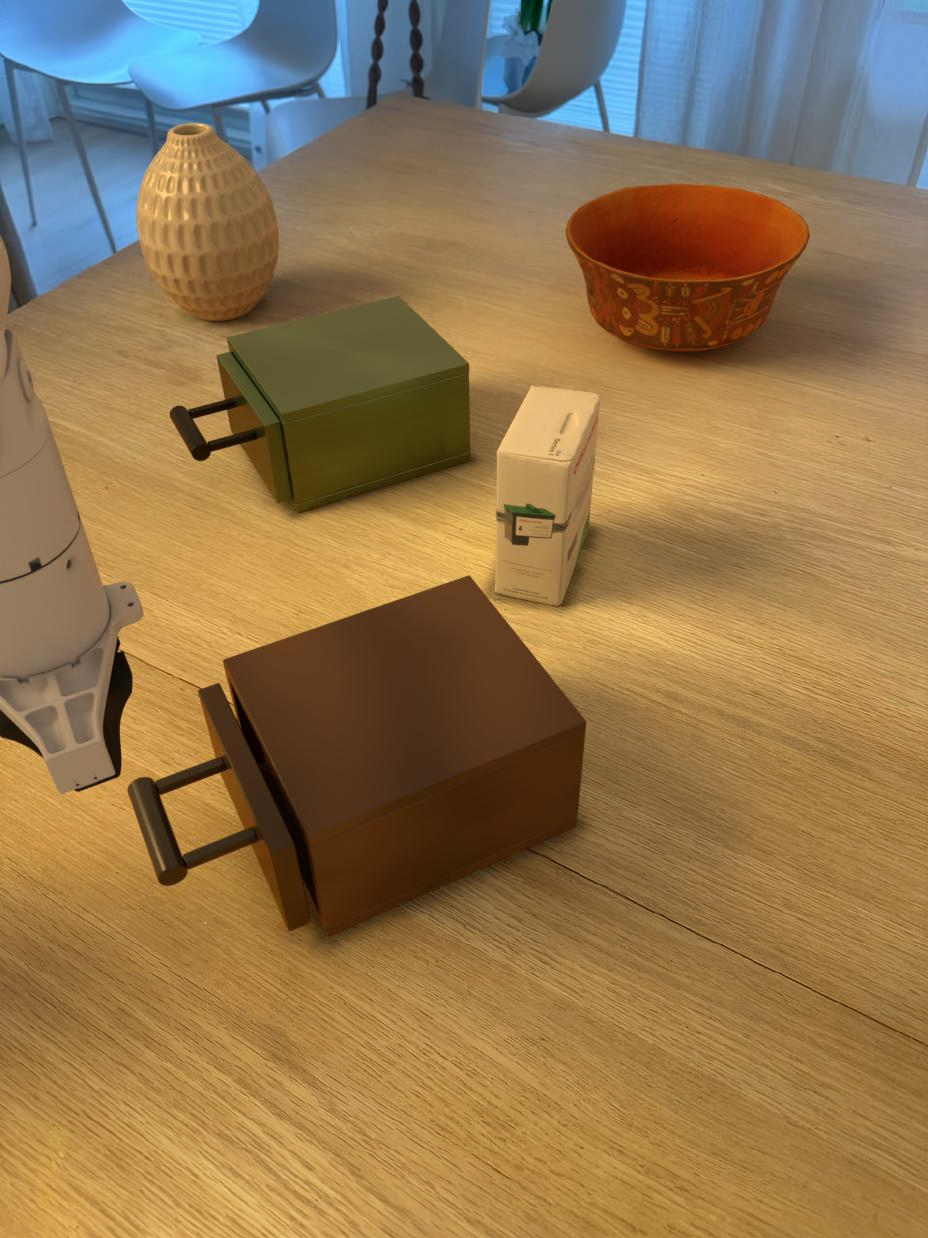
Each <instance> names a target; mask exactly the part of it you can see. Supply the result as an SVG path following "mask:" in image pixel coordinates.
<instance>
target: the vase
mask: <svg viewBox="0 0 928 1238" xmlns="http://www.w3.org/2000/svg"><path fill="white" fill-rule="evenodd" d="M140 183H141V184H140V187H139V189H138V196H137V200H136V201H137V202H136V211H135V219H136V231H137V237H138V242H139V246H140V249H141V253H142V255H143V259H144V261H145V264H146V266H147V268H148V270H149V272H150V273H151V275H152V277H153V279H154V280H155V282H156V283H157V284H158V285H159V287H160V288H161V289H162V290H163V292H164V293H165V294H166V295H167V296H168V297H169V298H170V299H171V300H172V301H173V302H174V303H175V304H176V305H178V306H179V307H180V308H182V309H183V310H184V311H185V312H187V313H189V314H190V315H192V316H193V317H195V318H197V319H199V320H202V321H206V322H226V321H227V322H228V321H233V320H236V319H239V318H242V317H244V316H246V315H247V314H249V313H250V312H251V311H253V309H254V308H255V307H256V306H257V305H258V303H259V302H260V301H261V300H262V298H263V296H264V295H265V294H266V292H267V290H268V288H269V286H270V284H271V282H272V280H273V278H274V275H275V271H276V268H277V265H278V259H279V252H280V232H279V226H278V219H277V215H276V210H275V207H274V204H273V200H272V197H271V195H270V193H269V191H268V189H267V187H266V186H265V184H264V182H263V180H262V178H261V177H260V176H259V174H258V173H257V171H256V170H255V169H254V167H253V166H252V164H251V163H250V162H249V161H248V160H247V159H246V158H245V157H244V156H243V155H242V154H241V153H240V152H238V151H237V150H236V148H234V147H232V146H231V145H230V144H229V143H227V142H225V141H224V140H223V139H221V138H220V137H219V136H218V135H217V132H216V130H215V129H214V128H213V126H211V125H210V124H207V123H200V122H189V123H182V124H178V125H176V126H173V127H172V128H171V129H169V130H168V131H167V135H166V141H165V143H164V144H163V145H162V146H161V148H160V149H159V150H158V152H157V153H156V154H155V155H154V157H153V158H152V160H151V162H150V163H149V165H148V166H147V168H146V171H145V173H144V176H143V177H142V180H141V182H140Z"/></svg>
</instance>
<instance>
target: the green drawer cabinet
mask: <svg viewBox="0 0 928 1238" xmlns="http://www.w3.org/2000/svg"><path fill="white" fill-rule="evenodd" d="M226 341H227V347H228V352H231V353H232V354H233V356H234V357H235V358H236V360H237V361H238V363H239V364H240V365H241V367H242V368H243V370H244V371H245V372H246V374H247V375H248V377H249V378H250V379H251V381H252V382H253V384H254V385H255V386H257V387H258V388H259V390H260V391H261V392H262V394H263V395H264V397H265V398H266V399H267V401H268V402H269V404H270V405H271V406H272V408H273V409H274V411H275V412H276V413H277V415H278V416H279V418H280V421H281V428H282V434H283V441H284V447H285V453H286V460H287V466H288V473H289V479H290V485H291V492H292V499H291V500H288V501H289V502H290V504H291V505H292V507H293V508H294V510H295V511H296V513H297V514H299V513H302V512H305V511H309V510H312V509H316V508H318V507H321V506H326V505H328V504H331V503H335V502H338V501H342V500H344V499H348V498H352V497H354V496H358V495H361V494H364V493H368V492H371V491H374V490H379V489H380V488H381V489H382V488H384V487H388V486H391V485H394V484H398V483H401V482H403V481H407V480H411V479H414V478H418V477H421V476H424V475H428V474H430V473H433V472H437V471H440V470H443V469H447V468H450V467H453V466H457V465H460V464H463V463H467V462H470V461H471V415H470V413H471V412H470V411H471V409H470V407H471V405H470V403H471V402H470V362H468V361H467V360H466V358H464V357H463V356H462V354H460V353H459V352H458V351H457V350H456V349H455V348H454V347H453V346H452V345H451V344H450V343H449V342H447V340H446V339H444V338H443V337H442V335H440V334H439V333H438V332H437V331H436V329H434V328H433V327H432V326H431V325H430V324H429V323H428V322H427V321H426V320H425V319H424V318H423V317H422V316H420V315H419V314H418V313H417V312H416V311H415V310H414V308H412V307H411V305H409V304H408V303H407V302H406V301H405V300H404V299H403V298H402V297H401V296H400V295H395V296H391V297H388V298H383V299H380V300H375V301H371V302H367V303H362V304H359V305H355V306H351V307H346V308H342V309H338V310H334V311H330V312H326V313H321V314H317V315H313V316H309V317H304V318H301V319H300V318H299V319H297V320H293V321H292V320H291V321H288V322H285V323H280V324H276V325H272V326H267V327H263V328H259V329H255V330H251V331H247V332H243V333H238V334H235V335H230V336H226Z"/></svg>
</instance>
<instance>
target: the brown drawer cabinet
mask: <svg viewBox="0 0 928 1238" xmlns="http://www.w3.org/2000/svg"><path fill="white" fill-rule="evenodd" d="M222 664H223V669H224V672H225V677H226V680H227V685H228V689H229V692H230V697H231V701H232V705H233V711H234V715H235V717H236V719H237V721H238V723H239V725H240V728H241V730H242V732H243V734H244V736H245V738H246V740H247V742H248V745H249V747H250V749H251V751H252V753H253V755H254V757H255V759H256V762H257V764H258V766H259V768H260V770H261V772H262V774H263V776H264V779H265V781H266V783H267V785H268V787H269V789H270V791H271V793H272V796H273V798H274V800H275V802H276V804H277V806H278V808H279V810H280V813H281V815H282V817H283V819H284V821H285V823H286V825H287V827H288V830H289V832H290V834H291V836H292V838H293V840H294V843H295V847H296V852H297V857H298V861H299V866H300V871H301V876H302V880H303V885H304V890H305V893H306V894H307V896H308V899H309V901H310V903H311V905H312V907H313V909H314V911H315V914H316V915H317V918H318V920H319V922H320V924H321V926H322V928H323V929H322V930H323V932H324V933H325V935H326V937H327V938H329V937H332V936H334V935H337V934H339V933H341V932H343V931H345V930H348V929H350V928H352V927H354V926H356V925H359V924H360V923H364V922H366V921H368V920H370V919H372V918H375V917H376V916H379V915H381V914H383V913H385V912H388V911H390V910H392V909H394V908H396V907H399V906H401V905H404V904H406V903H408V902H410V901H412V900H415V899H418V898H419V897H422V896H424V895H426V894H428V893H430V892H433V891H435V890H437V889H440V888H442V887H445V886H446V885H448V884H451V883H453V882H455V881H457V880H459V879H462V878H464V877H467V876H468V875H471V874H472V873H475V872H477V871H480V870H481V869H484V868H487V867H488V866H491V865H493V864H496V863H498V862H500V861H503V860H504V859H506V858H509V857H511V856H514V855H515V854H517V853H520V852H522V851H525V850H527V849H529V848H531V847H533V846H536V845H538V844H540V843H543V842H545V841H547V840H550V839H551V838H554V837H555V836H558V835H560V834H563V833H565V832H567V831H569V830H571V829H574V828H576V827H577V826H578V816H579V807H580V796H581V784H582V773H583V763H584V752H585V740H586V732H587V731H586V730H587V720H586V719H585V718H584V716H583V715H582V714H581V713H580V711H579V710H578V709H577V707H576V706H575V705H574V704H573V703H572V702H571V700H570V698H569V697H568V696H567V695H566V694H565V693H564V691H563V690H562V689H561V687H560V686H559V684H557V683H556V681H555V680H554V679H553V678H552V676H551V675H550V674H549V673H548V671H547V670H546V669H545V667H544V666H543V665H542V663H540V661H539V659H537V657H536V656H535V655H534V654H533V652H532V651H531V650H530V649H529V648H528V647H527V645H526V644H525V643H524V641H523V640H522V639H521V638H520V636H519V635H518V634H517V632H516V631H515V630H514V629H513V627H511V625H510V624H509V623H508V622H507V620H506V618H505V617H504V616H503V614H501V612H500V611H499V610H498V609H497V608H496V607H495V605H494V604H493V603H492V601H491V600H490V599H489V598H488V596H487V595H486V593H484V591H483V590H482V589H481V588H480V586H479V585H478V584H477V582H476V581H475V580H474V579H473V578H472V577H471V575H470V574H469V575H465V576H463V577H459V578H457V579H454V580H451V581H448V582H445V583H442V584H440V585H436V586H434V587H433V586H432V587H430V588H428V589H425V590H421V591H419V592H416V593H413V594H410V595H408V596H405V597H404V596H403V597H402V598H398V599H395V600H393V601H390V602H387V603H384V604H381V605H378V606H375V607H372V608H369V609H366V610H363V611H361V612H358V613H355V614H352V615H349V616H345V617H343V618H339V619H337V620H335V621H332V622H329V623H326V624H322V625H320V626H317V627H314V628H311V629H308V630H304V631H302V632H300V633H299V632H298V633H297V634H294V635H290V636H288V637H285V638H281V639H279V640H276V641H273V642H270V643H267V644H264V645H262V646H259V647H256V648H255V647H254V648H253V649H249V650H247V651H244V652H241V653H238V654H235V655H232V656H229V657H227V658H223V660H222ZM262 748H263V749H262ZM263 750H264V752H265V754H266V756H267V759H268V761H269V763H270V765H271V767H272V769H273V771H274V773H275V775H276V777H277V779H278V781H279V783H280V786H281V788H282V790H283V792H284V794H285V796H286V798H287V800H288V802H289V804H290V806H291V808H292V810H293V813H294V815H295V817H296V819H297V821H298V823H299V825H300V827H301V829H302V831H303V833H304V838H305V843H306V846H305V844H304V841H303V839H302V837H301V835H300V833H299V831H298V829H297V827H296V825H295V823H294V821H293V818H292V816H291V814H290V812H289V810H288V808H287V806H286V804H285V802H284V800H283V798H282V795H281V793H280V791H279V789H278V787H277V785H276V783H275V781H274V779H273V777H272V775H271V772H270V770H269V768H268V766H267V764H266V762H265V758H264V753H263Z"/></svg>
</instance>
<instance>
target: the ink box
mask: <svg viewBox="0 0 928 1238" xmlns="http://www.w3.org/2000/svg"><path fill="white" fill-rule="evenodd" d="M600 405H601V395H600V394H599V393H595V392H592V391H591V392H590V391H583V390H572V389H566V388H559V387H552V386H545V385H536V384H535V385H531V386H530V388H529V390H528V392H527V394H526V396H525V397H524V399H523V401H522V403H521V405H520V407H519V409H518V411H517V413H516V414H515V417H514V419H513V420H512V422H511V424H510V426H509V428H508V430H507V431H506V433H505V435H504V437H503V439H502V441H501V443H500V445H499V447H498V449H497V451H496V505H495V506H496V509H495V511H496V513H495V519H496V520H495V574H494V575H495V576H494V577H495V581H494V583H495V584H494V592H495V594H499V595H502V596H506V597H511V598H514V599H520V600H524V601H528V602H529V601H530V602H533V603H539V604H544V605H550V606H555V607H558V606H560V605H562V603H563V601H564V598H565V595H566V592H567V590H568V587H569V584H570V582H571V579H572V576H573V573H574V572H575V571H574V570H575V568H576V565H577V562H578V560H579V557H580V554H581V551H582V549H583V545H584V542H585V540H586V538H587V535H588V533H589V527H590V518H591V517H590V516H591V509H592V508H591V506H592V495H593V486H594V485H593V483H594V482H593V481H594V473H595V472H594V471H595V462H596V461H595V460H596V449H597V448H596V447H597V439H598V429H599V428H598V427H599V419H600V417H599V416H600Z"/></svg>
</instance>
